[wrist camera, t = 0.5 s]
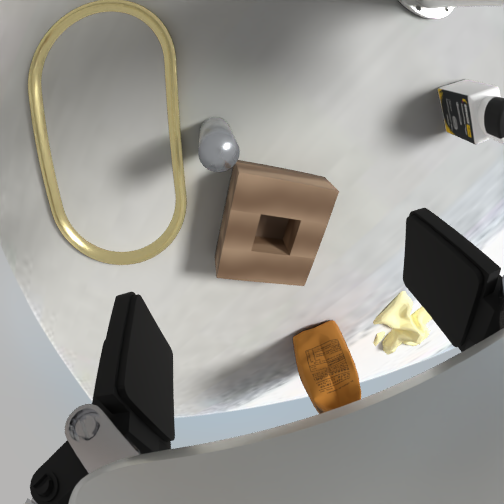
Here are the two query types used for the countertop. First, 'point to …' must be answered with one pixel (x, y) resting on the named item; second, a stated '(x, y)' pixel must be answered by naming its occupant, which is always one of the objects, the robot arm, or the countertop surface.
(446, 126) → the medicine bottle
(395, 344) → the cloth
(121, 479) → the robot arm
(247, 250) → the bore block
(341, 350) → the coffee package
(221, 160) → the pin
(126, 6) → the wavy rubber band
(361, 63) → the countertop surface
